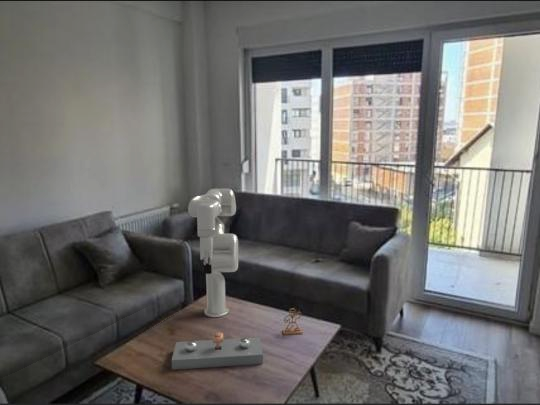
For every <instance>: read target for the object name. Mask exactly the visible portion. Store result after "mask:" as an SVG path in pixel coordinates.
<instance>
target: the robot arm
mask: <svg viewBox="0 0 540 405" xmlns="http://www.w3.org/2000/svg"><path fill="white" fill-rule="evenodd" d="M187 209H188V214H189V216H190V217H192V218H196V219H197V220H196V221H197V223H196V224H197V227H196V228H197V237H199V252H200V253H199V258H200V259H199V260H201V261H202V260H203V274H204V275H205V280H206V281H205V283H206V307H205V309H204V312H203V313H204V315H205V316H207V317H210V318H220V317H224V316H226V315H228V314H229V312H230V311H229V308H228V307H227V305H226V281H225V279H226V278H225V277H224V275H223V274H222V273H234V272H236V271H237V270H238V268H239V238H238V236H237V234H236V233H235V234H234V233H225V224H224V223H223V221H222V220H221V219H220V218H219V217H232V216H234V215H236V211H237V203H236V196H235V192H234V191H233V190H232V189H231V188H211V189H209V190H208V191H207V192H206V193H205V194H201V195H198V196H194V197H192V198H191V199H190V201H189V203H188V207H187ZM213 252H215V253H213ZM225 252H226V253H225Z"/></svg>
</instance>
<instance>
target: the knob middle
mask: <svg viewBox="0 0 540 405" xmlns="http://www.w3.org/2000/svg"><path fill="white" fill-rule="evenodd" d="M211 339H212V340H213V342H214V343H216V348H217V349H219V348H220V343H221V342H223V339H224V333H223V332H219V331H218V332H215V333H213V334H212V337H211Z"/></svg>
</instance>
